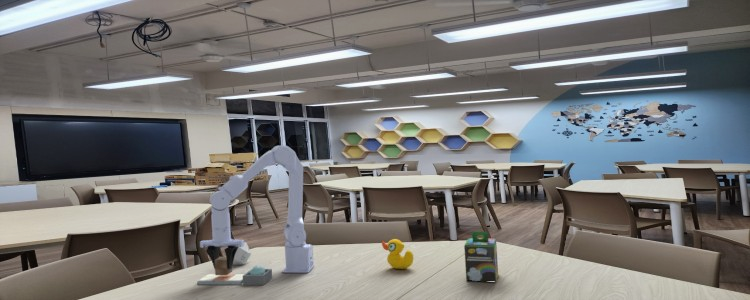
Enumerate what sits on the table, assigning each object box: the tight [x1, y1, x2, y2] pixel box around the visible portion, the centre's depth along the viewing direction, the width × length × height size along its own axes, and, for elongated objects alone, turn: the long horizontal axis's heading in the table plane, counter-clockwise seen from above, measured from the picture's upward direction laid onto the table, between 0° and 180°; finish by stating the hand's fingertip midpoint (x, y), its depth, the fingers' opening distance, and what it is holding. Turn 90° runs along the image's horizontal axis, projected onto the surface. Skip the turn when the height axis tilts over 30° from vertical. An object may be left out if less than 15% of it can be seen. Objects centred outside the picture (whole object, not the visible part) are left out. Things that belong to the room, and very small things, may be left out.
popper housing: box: [242, 268, 273, 286], centre depth 143 cm, size 7×7×3 cm
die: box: [233, 241, 252, 266], centre depth 165 cm, size 8×9×10 cm
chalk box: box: [463, 230, 499, 282], centre depth 136 cm, size 9×9×15 cm
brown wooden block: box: [214, 256, 233, 275], centre depth 145 cm, size 4×4×5 cm
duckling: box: [381, 238, 414, 270], centre depth 150 cm, size 11×5×10 cm, turn 63°
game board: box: [196, 273, 245, 285], centre depth 145 cm, size 15×7×1 cm, turn 82°
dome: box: [249, 265, 266, 275], centre depth 143 cm, size 5×5×4 cm
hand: (223, 268), depth 145 cm, fingers closed on brown wooden block, 4 cm apart
